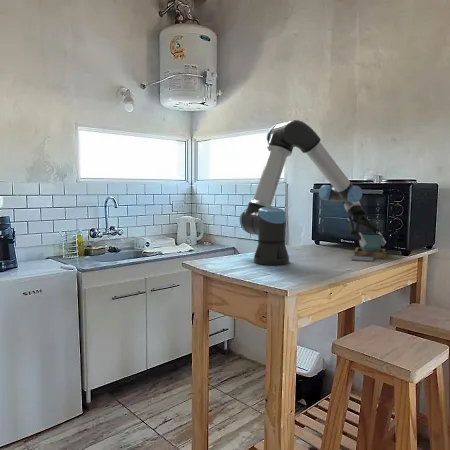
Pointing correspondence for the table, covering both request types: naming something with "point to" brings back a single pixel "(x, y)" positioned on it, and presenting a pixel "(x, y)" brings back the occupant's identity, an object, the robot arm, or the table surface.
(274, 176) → the robot arm
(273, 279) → the table surface
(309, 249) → the table surface
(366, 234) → the flower pot
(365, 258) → the mat
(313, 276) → the table surface
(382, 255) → the wooden tray
